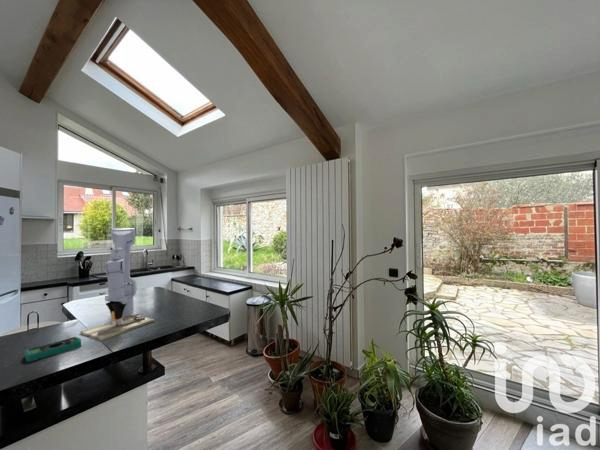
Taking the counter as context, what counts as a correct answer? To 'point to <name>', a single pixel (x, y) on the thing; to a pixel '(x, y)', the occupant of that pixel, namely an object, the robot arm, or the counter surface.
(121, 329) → the hole gauge board
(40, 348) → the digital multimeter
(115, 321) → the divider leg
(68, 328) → the counter surface
